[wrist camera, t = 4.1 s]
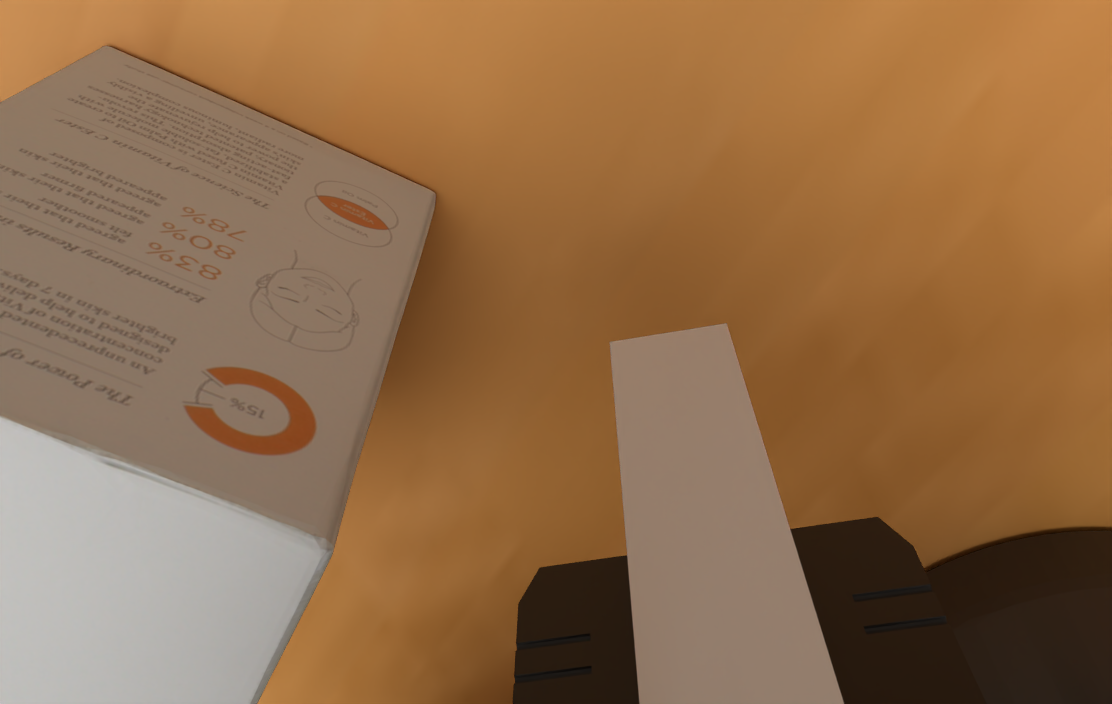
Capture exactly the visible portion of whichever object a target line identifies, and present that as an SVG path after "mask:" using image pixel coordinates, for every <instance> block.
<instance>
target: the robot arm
mask: <svg viewBox="0 0 1112 704" xmlns="http://www.w3.org/2000/svg"><path fill="white" fill-rule="evenodd" d="M610 353H611V365H612V377H613V389H614V401H615V413H616V425H617V437H618V449H619V462H620V474H621V486H622V498H623V510H624V522H625V534H626V546H627V555H626V556H619V557H612V558H605V559H597V560H590V561H583V562H576V563H569V564H562V565H555V566H548V567H541V568H539V570H538V571H537V573H536V575H535V576H534V578H533V580H532V582H531V583H530V585H529V587H528V588H527V590H526V592H525V594H524V595H523V597H522V599H521V600H520V602H519V604H518V621H517V638H516V644H517V651H516V656H515V673H514V676H515V684H514V690H513V704H1112V531H1075V532H1063V533H1054V534H1046V535H1040V536H1034V537H1028V538H1023V539H1019V540H1014V541H1010V542H1006V543H1002V544H999V545H995V546H992V547H988V548H985V549H982V550H979V551H976V552H973V553H970V554H967V555H964V556H962V557H959V558H957V559H955V560H952V561H950V562H947V563H945V564H943V565H941V566H939V567H936V568H934V569H932V570H930V571H928V572H926V573H925V570H924V568H923V566H922V564H921V562H920V560H919V558H918V555H917V553H916V551H915V549H914V547H913V546H912V545H911V544H910V543H909V542H907V541H906V540H905V539H904V538H903V537H901V536H900V535H899V534H898V533H897V532H895V531H894V530H893V529H892V528H890V527H889V526H888V525H887V524H886V523H884V522H883V521H882V520H881V519H880V518H878V517H873V518H866V519H859V520H852V521H845V522H838V523H831V524H823V525H816V526H809V527H802V528H795V529H790V527H789V524H788V520H787V517H786V514H785V511H784V508H783V504H782V501H781V498H780V495H779V491H778V488H777V485H776V482H775V478H774V475H773V472H772V469H771V465H770V462H769V459H768V456H767V452H766V449H765V446H764V443H763V440H762V436H761V433H760V430H759V427H758V423H757V420H756V417H755V414H754V410H753V407H752V404H751V401H750V397H749V394H748V391H747V388H746V384H745V381H744V378H743V375H742V371H741V368H740V365H739V362H738V359H737V355H736V352H735V349H734V346H733V342H732V339H731V336H730V333H729V329H728V326H727V323H725V324H719V325H713V326H706V327H700V328H694V329H688V330H681V331H675V332H669V333H663V334H656V335H650V336H644V337H638V338H631V339H625V340H619V341H613V342H610Z"/></svg>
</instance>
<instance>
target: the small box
mask: <svg viewBox="0 0 1112 704" xmlns="http://www.w3.org/2000/svg"><path fill="white" fill-rule="evenodd" d="M435 202H436V194H435V193H434V192H433V191H431V190H430V189H428V188H425V187H423V186H421V185H419V184H417V183H414V182H412V181H410V180H408V179H405V178H403V177H401V176H399V175H397V174H394V173H392V172H390V171H388V170H386V169H383V168H381V167H379V166H377V165H375V164H372V163H370V162H368V161H366V160H364V159H362V158H359V157H357V156H355V155H353V154H351V153H348V152H346V151H344V150H342V149H339V148H337V147H335V146H333V145H330V144H328V143H326V142H324V141H321V140H319V139H317V138H315V137H312V136H310V135H308V134H306V133H303V132H301V131H299V130H297V129H295V128H292V127H290V126H288V125H286V124H284V123H281V122H279V121H277V120H275V119H273V118H270V117H268V116H266V115H264V114H261V113H259V112H257V111H255V110H253V109H250V108H248V107H246V106H244V105H241V104H239V103H237V102H235V101H233V100H230V99H228V98H226V97H224V96H221V95H219V94H217V93H214V92H212V91H210V90H208V89H205V88H203V87H201V86H199V85H196V84H194V83H192V82H190V81H187V80H185V79H183V78H181V77H178V76H176V75H174V74H172V73H169V72H167V71H165V70H163V69H160V68H158V67H156V66H153V65H151V64H149V63H146V62H144V61H142V60H140V59H137V58H135V57H133V56H131V55H128V54H126V53H124V52H121V51H119V50H117V49H115V48H112V47H109V46H103V47H101V48H100V49H98V50H96V51H95V52H93V53H91V54H89V55H87V56H85V57H83V58H82V59H80V60H78V61H76V62H74V63H72V64H71V65H69V66H67V67H65V68H63V69H62V70H60V71H58V72H56V73H54V74H53V75H51V76H48V77H46V78H44V79H43V80H41V81H39V82H37V83H36V84H34V85H32V86H30V87H28V88H26V89H25V90H23V91H21V92H19V93H17V94H15V95H13V96H11V97H10V98H8V99H6V100H4V101H2V102H0V704H257V703H258V701H259V699H260V697H261V695H262V693H263V691H264V689H265V687H266V685H267V683H268V681H269V679H270V677H271V675H272V673H273V671H274V669H275V667H276V665H277V663H278V662H279V660H280V658H281V656H282V654H283V652H284V650H285V648H286V646H287V644H288V642H289V640H290V638H291V636H292V634H293V632H294V630H295V628H296V626H297V624H298V622H299V620H300V618H301V616H302V614H303V612H304V610H305V608H306V607H307V605H308V603H309V601H310V599H311V597H312V595H313V593H314V591H315V589H316V587H317V585H318V583H319V581H320V579H321V577H322V575H323V573H324V571H325V569H326V567H327V564H328V562H329V560H330V558H331V556H332V554H333V551H334V547H335V543H336V539H337V536H338V532H339V528H340V525H341V521H342V517H343V514H344V510H345V506H346V503H347V499H348V495H349V492H350V488H351V484H352V481H353V477H354V474H355V471H356V467H357V464H358V460H359V457H360V454H361V451H362V447H363V444H364V441H365V438H366V434H367V431H368V428H369V425H370V421H371V418H372V415H373V412H374V408H375V405H376V402H377V398H378V395H379V392H380V388H381V385H382V382H383V378H384V375H385V372H386V368H387V365H388V362H389V358H390V355H391V352H392V348H393V345H394V341H395V338H396V334H397V331H398V328H399V325H400V322H401V319H402V316H403V313H404V310H405V307H406V303H407V300H408V297H409V294H410V290H411V287H412V284H413V281H414V278H415V274H416V271H417V268H418V264H419V261H420V257H421V254H422V251H423V247H424V244H425V240H426V237H427V234H428V230H429V227H430V223H431V220H432V216H433V212H434V208H435Z"/></svg>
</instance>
